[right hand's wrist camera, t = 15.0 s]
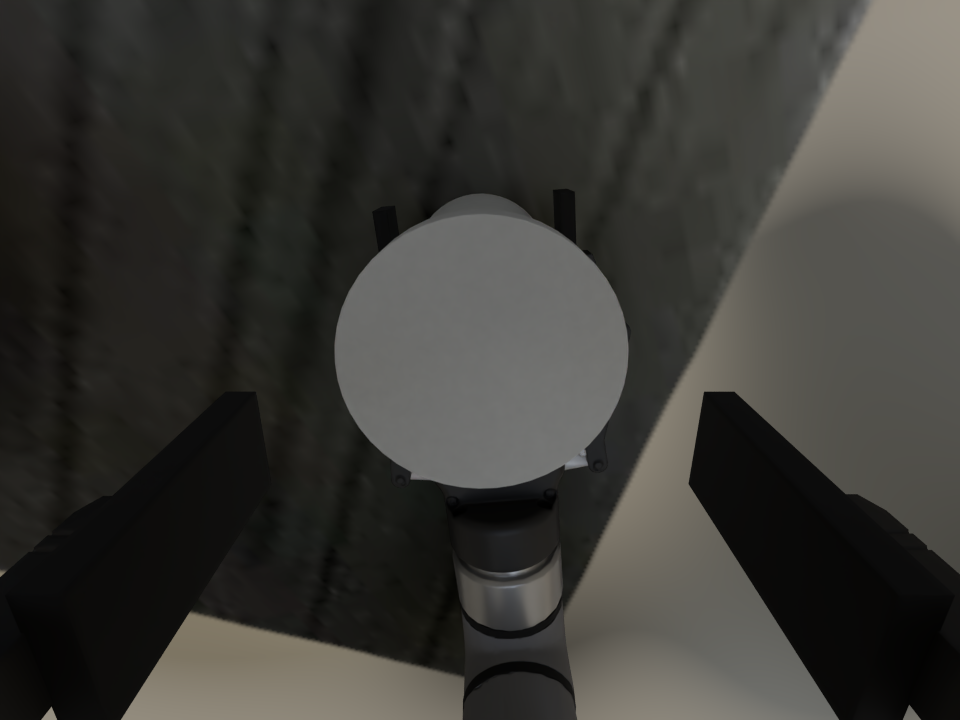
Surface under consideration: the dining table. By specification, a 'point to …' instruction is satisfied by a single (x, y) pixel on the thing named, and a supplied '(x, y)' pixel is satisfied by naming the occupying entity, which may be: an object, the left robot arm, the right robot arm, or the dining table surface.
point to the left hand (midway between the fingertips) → (473, 199)
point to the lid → (481, 349)
